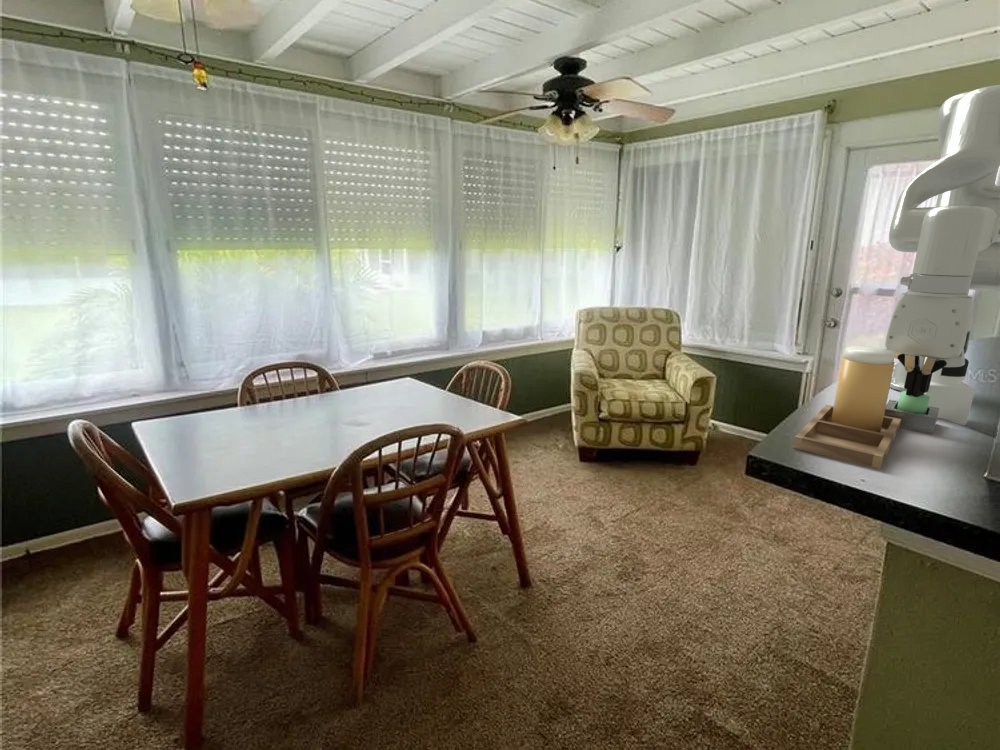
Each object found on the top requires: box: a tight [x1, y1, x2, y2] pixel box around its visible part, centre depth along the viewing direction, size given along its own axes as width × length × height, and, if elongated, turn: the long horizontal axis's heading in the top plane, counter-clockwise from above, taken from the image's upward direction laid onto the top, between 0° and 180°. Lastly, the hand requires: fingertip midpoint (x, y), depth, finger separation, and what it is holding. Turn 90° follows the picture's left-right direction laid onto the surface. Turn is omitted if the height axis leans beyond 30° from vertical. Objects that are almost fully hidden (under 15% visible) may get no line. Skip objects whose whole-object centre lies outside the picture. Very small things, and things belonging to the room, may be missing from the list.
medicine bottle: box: [924, 357, 976, 427], centre depth 95 cm, size 7×7×12 cm
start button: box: [897, 391, 930, 414], centre depth 90 cm, size 4×4×4 cm
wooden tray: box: [792, 404, 901, 470], centre depth 84 cm, size 21×11×3 cm, turn 138°
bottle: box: [831, 345, 896, 432], centre depth 86 cm, size 7×7×14 cm
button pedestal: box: [884, 399, 939, 435], centre depth 90 cm, size 7×7×4 cm
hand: (914, 394), depth 89 cm, fingers closed
